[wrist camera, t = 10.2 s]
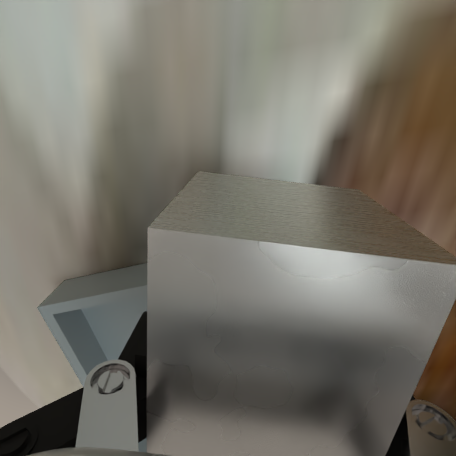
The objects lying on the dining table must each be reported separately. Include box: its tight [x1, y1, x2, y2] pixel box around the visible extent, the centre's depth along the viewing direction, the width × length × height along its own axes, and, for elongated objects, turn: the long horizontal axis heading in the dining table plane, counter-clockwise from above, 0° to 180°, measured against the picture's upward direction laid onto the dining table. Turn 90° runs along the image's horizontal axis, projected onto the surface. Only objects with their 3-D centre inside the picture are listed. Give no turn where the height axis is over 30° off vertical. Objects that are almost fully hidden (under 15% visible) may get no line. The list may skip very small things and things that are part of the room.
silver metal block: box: [147, 171, 456, 456], centre depth 11 cm, size 12×6×6 cm, turn 174°
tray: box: [37, 263, 147, 453], centre depth 25 cm, size 24×20×4 cm
